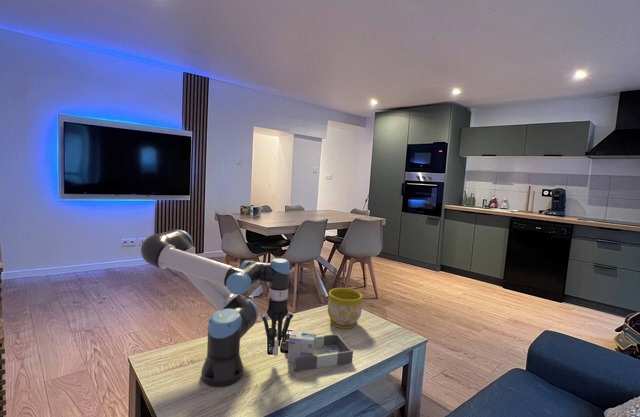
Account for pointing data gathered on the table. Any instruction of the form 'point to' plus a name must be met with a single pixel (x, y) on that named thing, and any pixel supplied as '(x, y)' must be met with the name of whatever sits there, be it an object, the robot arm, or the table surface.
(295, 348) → the light bulb box
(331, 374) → the table surface
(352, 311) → the flowerpot
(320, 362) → the trap channel
